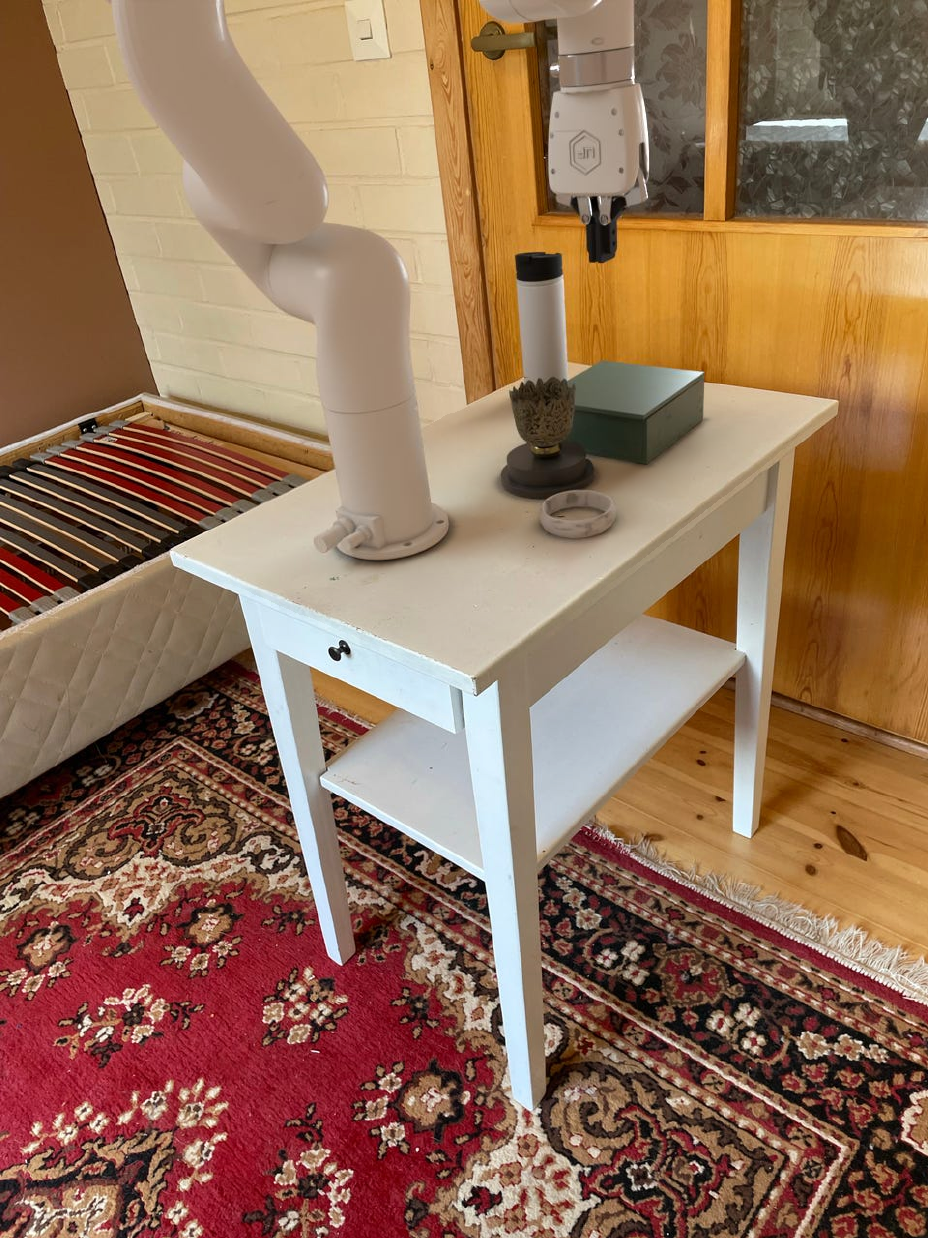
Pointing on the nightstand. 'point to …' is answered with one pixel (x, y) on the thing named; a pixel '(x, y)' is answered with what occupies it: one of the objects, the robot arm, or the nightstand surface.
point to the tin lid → (629, 388)
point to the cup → (544, 414)
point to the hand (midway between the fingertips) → (602, 259)
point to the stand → (546, 471)
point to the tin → (639, 428)
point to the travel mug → (542, 316)
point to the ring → (579, 526)
